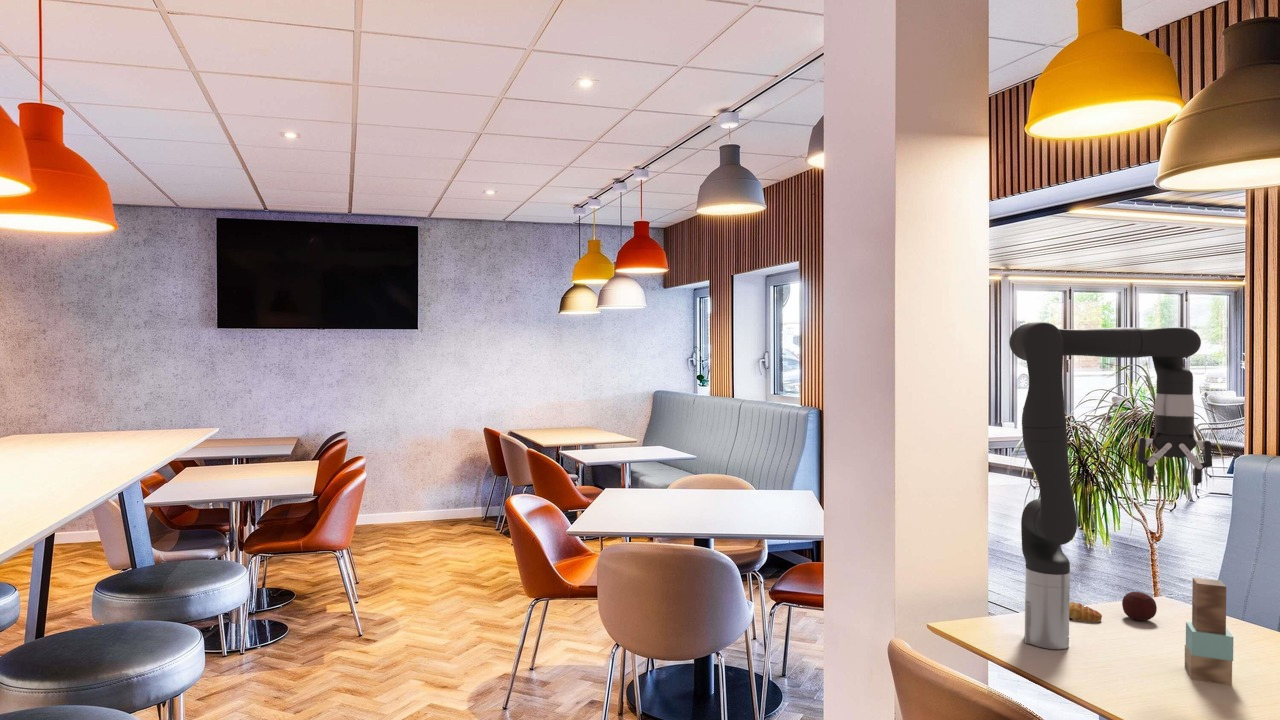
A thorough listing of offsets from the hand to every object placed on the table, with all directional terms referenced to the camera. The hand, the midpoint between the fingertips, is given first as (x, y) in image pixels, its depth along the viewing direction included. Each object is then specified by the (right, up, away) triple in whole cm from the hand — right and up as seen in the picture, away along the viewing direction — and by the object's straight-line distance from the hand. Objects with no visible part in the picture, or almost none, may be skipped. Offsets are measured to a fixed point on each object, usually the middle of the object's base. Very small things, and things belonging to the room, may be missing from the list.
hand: (1173, 483), depth 181 cm
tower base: (-4, -38, -16) cm, 42 cm away
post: (-4, -28, -16) cm, 33 cm away
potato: (+5, -38, +20) cm, 43 cm away
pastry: (-10, -38, +21) cm, 45 cm away
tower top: (-3, -33, -16) cm, 37 cm away
